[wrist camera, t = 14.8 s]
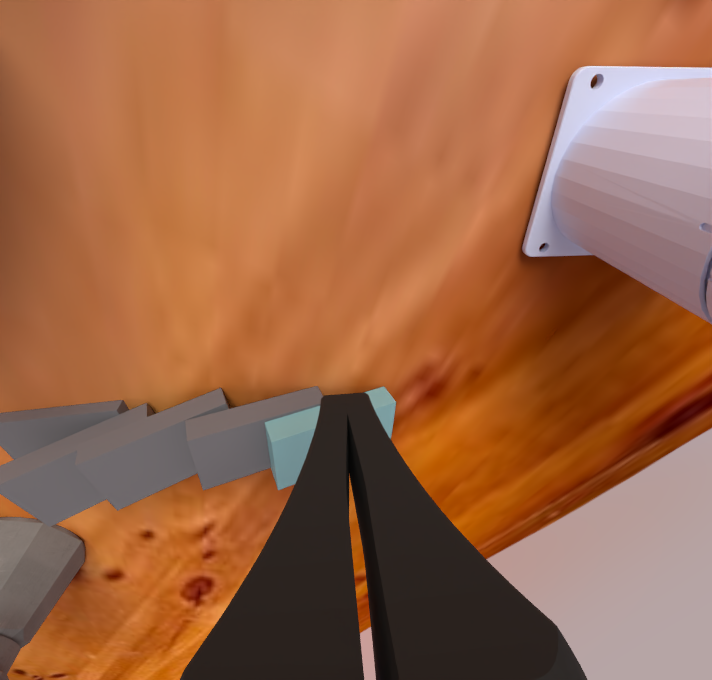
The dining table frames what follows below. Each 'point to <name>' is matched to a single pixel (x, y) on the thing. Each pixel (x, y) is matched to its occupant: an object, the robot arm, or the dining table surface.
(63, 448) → the domino
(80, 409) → the domino
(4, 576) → the coffeepot
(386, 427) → the teal domino
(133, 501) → the domino
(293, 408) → the domino
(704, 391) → the dining table surface
